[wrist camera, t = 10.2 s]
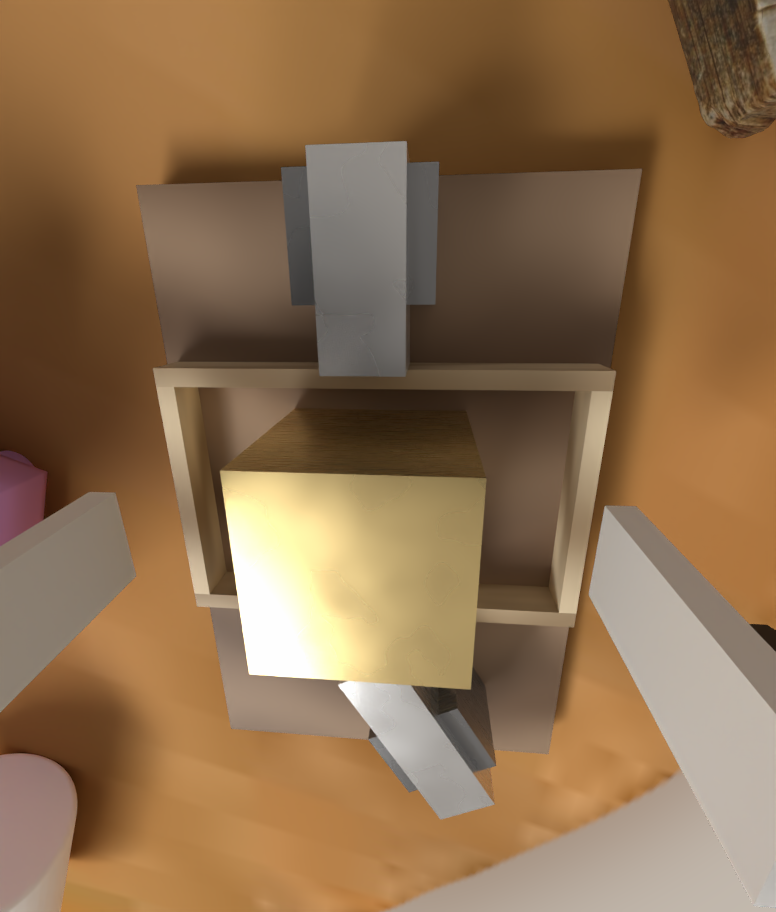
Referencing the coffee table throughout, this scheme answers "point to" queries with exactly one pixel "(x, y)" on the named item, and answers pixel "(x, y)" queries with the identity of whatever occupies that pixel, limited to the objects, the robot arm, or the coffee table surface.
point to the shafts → (384, 355)
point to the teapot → (20, 495)
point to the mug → (34, 832)
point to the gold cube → (359, 546)
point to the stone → (731, 61)
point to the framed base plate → (408, 404)
